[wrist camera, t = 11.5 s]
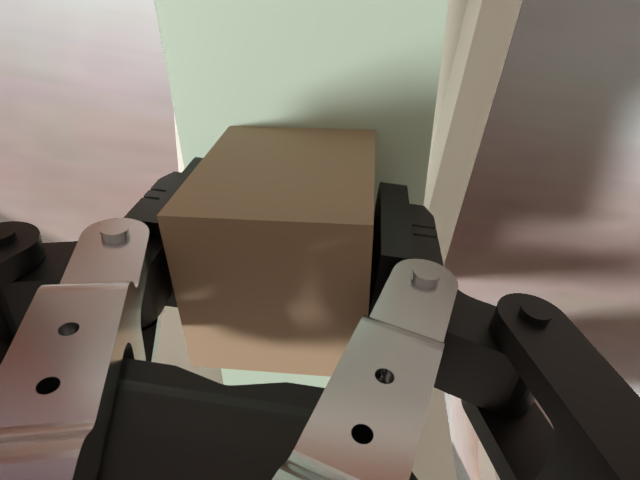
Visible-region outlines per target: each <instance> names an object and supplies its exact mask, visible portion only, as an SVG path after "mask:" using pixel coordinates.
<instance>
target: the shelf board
mask: <svg viewBox="0 0 640 480" xmlns="http://www.w3.org/2000/svg"><path fill="white" fill-rule="evenodd" d="M448 1H449V0H154V3H155V9H156V14H157V20H158V25H159V31H160V36H161V42H162V47H163V53H164V59H165V64H166V70H167V75H168V81H169V86H170V92H171V97H172V103H173V108H174V114H175V119H176V125H177V130H178V136H179V141H180V147H181V152H182V158H183V163H184V169H185V168H186V167H187V166H188V164H189V163H190V162H191V161H192V160H193V159H194V158H195V157H200V158H203V159H202V160H201V161H200V163H199V164H198V165H197V166H196V168H195V169H194V170H193V171H192V173H191V174H190V175H189V176H188V178H187V179H186V180H185V181H184V182H183V184H182V185H181V186H180V187H179V189H178V190H177V191H176V192H175V194H174V195H173V196H172V197H171V199H170V200H169V201H168V202H167V203H166V205H165V206H164V207H163V208H162V210H161V211H160V212H159V213H158V215H157V219H158V224H159V228H160V232H161V237H162V241H163V245H164V250H165V254H166V259H167V263H168V267H169V272H170V276H171V280H172V285H173V289H174V293H175V298H176V302H177V306H178V311H179V315H180V320H181V324H182V328H183V333H184V337H185V341H186V346H187V350H188V354H189V359H190V363H191V366H196V367H209V368H221V373H222V378H223V384H224V385H249V384H265V383H281V382H288V383H295V384H302V385H308V386H315V387H321V388H326V386H327V384H328V382H329V380H330V378H331V376H332V374H333V372H334V370H335V368H336V366H337V364H338V362H339V360H340V358H341V356H342V354H343V353H344V351H345V349H346V347H347V345H348V343H349V341H350V339H351V337H352V335H353V333H354V331H355V329H356V327H357V325H358V323H359V321H360V320H361V318H362V317H363V316H364V315H366V316H368V313H369V296H370V279H371V262H372V245H373V228H374V210H375V204H376V199H377V193H378V188H379V184H380V182H385V183H393V184H400V185H407V187H408V196H409V204H416V205H423V206H424V197H425V189H426V181H427V173H428V165H429V156H430V148H431V140H432V132H433V124H434V116H435V107H436V99H437V91H438V83H439V75H440V67H441V58H442V50H443V42H444V34H445V26H446V17H447V9H448Z"/></svg>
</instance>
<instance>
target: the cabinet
mask: <svg viewBox="0 0 640 480" xmlns="http://www.w3.org/2000/svg"><path fill="white" fill-rule="evenodd" d="M522 3H523V0H449V1H448V9H447V17H446V26H445V34H444V42H443V50H442V58H441V67H440V75H439V83H438V91H437V99H436V107H435V116H434V124H433V132H432V140H431V148H430V156H429V165H428V173H427V181H426V189H425V197H424V206H425V207H426V208H427V209H428V211H429V212H430V213H431V214H432V215H433V216H434V220H435V225H436V230H437V235H438V240H439V245H440V250H441V255H442V260H443V265H444V263H445V260H446V257H447V253H448V250H449V247H450V243H451V240H452V237H453V233H454V230H455V227H456V223H457V220H458V217H459V213H460V210H461V207H462V203H463V200H464V197H465V193H466V190H467V187H468V183H469V180H470V176H471V173H472V170H473V166H474V163H475V160H476V156H477V153H478V150H479V146H480V143H481V140H482V136H483V133H484V130H485V126H486V123H487V120H488V116H489V113H490V110H491V106H492V103H493V100H494V96H495V93H496V90H497V86H498V83H499V80H500V76H501V73H502V70H503V66H504V63H505V60H506V56H507V53H508V50H509V46H510V43H511V40H512V36H513V33H514V30H515V26H516V23H517V20H518V16H519V13H520V10H521V6H522ZM174 118H175V114H174ZM175 131H176V144H177V157H178V170H179V172H181V173H182V172H183V170H184V163H183V158H182V152H181V147H180V141H179V136H178V130H177V125H176V119H175ZM160 320H161V329H160V336H159V343H158V351H157V358H156V363H162V364H169V365H175V366H178V367H180V368H183V369H185V370H188V371H190V372H193V373H195V374H198V375H200V376H203V377H205V378H208V379H210V380H213V381H215V382H218V383H220V384H223V378H222V373H221V368H209V367H196V366H191V363H190V359H189V354H188V350H187V346H186V341H185V337H184V333H183V328H182V324H181V320H180V315H179V311H178V308H177V307H170V306H166V307H165V309H164V311H163V313H162V314H161V316H160ZM412 472H413V473H414V475H415V476H416V477H417V479H418V480H457V478H456V471H455V464H454V457H453V450H452V444H451V437H450V430H449V423H448V416H447V409H446V402H445V395H444V392H443V391H441V390H439V389H436V388H434V387H433V391H432V395H431V399H430V403H429V406H428V410H427V414H426V418H425V422H424V426H423V429H422V433H421V437H420V441H419V445H418V448H417V452H416V456H415V460H414V464H413V467H412Z"/></svg>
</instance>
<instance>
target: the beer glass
mask: <svg viewBox="0 0 640 480" xmlns="http://www.w3.org/2000/svg"><path fill="white" fill-rule="evenodd" d="M449 397H450V405H449V430H450V437H451V444H452V450H453V457H454V464H455V471H456V478H457V480H500V478H499V476H498V474H497V472H496V470H495V469H494V467H493V465H492V463H491V461H490V459H489V457H488V455H487V453H486V451H485V449H484V447H483V446H482V444H481V442H480V440H479V438H478V436H477V434H476V432H475V430H474V428H473V426H472V424H471V422H470V421H469V419H468V417H467V415H466V413H465V411H464V409H463V406H462V403H461V399H460V398H457V397H455V396H453V395H450V394H449ZM535 402H536V404H537V405H538V407H539V408H540V410H541V411H542V413H543V414H544V416H545V417H546V419H547V420H548V422H549V423H550V425H551V426H552V423H551V421H550V420H549V418H548V416H547V415H546V413H545V412H544V411H543V409H542V408H541V406H540V405H539V403H538V402H537V400H536V399H535ZM552 428H553V426H552ZM553 429H554V428H553Z"/></svg>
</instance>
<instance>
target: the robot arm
mask: <svg viewBox="0 0 640 480" xmlns="http://www.w3.org/2000/svg"><path fill="white" fill-rule="evenodd" d="M202 159H203V158H200V157H195V158H194V159H193V160H192V161H191V162H190V163H189V164H188V166H187V167H186V168H185V169H184V170H183V172H182V173H181V172H173V173H170V174H168V175H166V176H164V177H162V178H160V179H159V180H158V181H157V182H156V183H155V184H154V185H153V186H152V187H151V190H149V191H148V192H147V193H146V194H145V195H144V198H141V199H140V200H139V202H138V203H137V204H136V205H135V206H134V207H133V208H132V209H131V210H130V211H129V212H128V213H127V215H126V216H125V217H124V218H112V219H107V220H103V221H99V222H97V223H94V224H92V225H90V226H89V227H87V228H86V229H85V230H84V231H83V232H82V234H81V235H80V238H79V240H78V241H74V242H56V243H42V239H41V235H40V232H39V230H38V228H37V227H36V226H34V225H32V224H29V223H25V222H17V221H11V222H1V223H0V480H418V479H417V477H416V476H415V475H414V473H413V472H412V467H413V464H414V460H415V456H416V452H417V448H418V445H419V441H420V437H421V433H422V429H423V426H424V422H425V418H426V414H427V410H428V406H429V403H430V399H431V395H432V391H433V387H434V388H436V389H439V390H441V391H443V392H446V393H448V394H450V395H453V396H455V397H457V398H460V399H461V403H462V406H463V409H464V411H465V413H466V415H467V417H468V419H469V421H470V422H471V424H472V426H473V428H474V430H475V432H476V434H477V436H478V438H479V440H480V442H481V444H482V446H483V447H484V449H485V451H486V453H487V455H488V457H489V459H490V461H491V463H492V465H493V467H494V469H495V470H496V472H497V474H498V476H499V478H500V480H640V397H639V396H638V395H637V394H636V393H635V392H634V391H633V389H632V388H631V387H630V386H629V385H628V384H627V383H626V382H625V381H624V379H623V378H622V377H621V376H620V375H619V374H618V373H617V372H616V371H615V369H614V368H613V367H612V366H611V365H610V364H609V363H608V362H607V361H606V360H605V358H604V357H603V356H602V355H601V354H600V353H599V352H598V351H597V350H596V348H595V347H594V346H593V345H592V344H591V343H590V342H589V341H588V340H587V338H586V337H585V336H584V335H583V334H582V333H581V332H580V331H579V330H578V329H577V327H576V326H575V325H574V324H573V323H572V322H571V321H570V320H569V319H568V317H567V316H566V315H565V314H564V313H563V312H562V311H561V310H560V309H558V308H557V307H556V306H554V305H553V304H551V303H550V302H548V301H546V300H544V299H541V298H539V297H536V296H533V295H528V294H522V293H513V294H508V295H505V296H503V297H502V298H501V299H500V300H499V302H498V304H497V306H493V305H491V304H488V303H485V302H482V301H479V300H477V299H474V298H472V297H469V296H467V295H466V294H464V293H462V292H461V291H459V290H458V281H457V279H456V277H455V276H454V275H453V273H452V272H451V271H449V270H448V269H447V268H445V267H444V265H443V260H442V255H441V250H440V245H439V240H438V235H437V230H436V225H435V220H434V216H433V215H432V214H431V213H430V212H429V211H428V209H427V208H426V207H425V206H423V205H416V204H409V196H408V187H407V185H400V184H393V183H385V182H380V184H379V188H378V193H377V199H376V204H375V210H374V228H373V245H372V262H371V279H370V296H369V313H368V316H366V315H364V316H363V317H362V318H361V320H360V321H359V323H358V325H357V327H356V329H355V331H354V333H353V335H352V337H351V339H350V341H349V343H348V345H347V347H346V349H345V351H344V353H343V354H342V356H341V358H340V360H339V362H338V364H337V366H336V368H335V370H334V372H333V374H332V376H331V378H330V380H329V382H328V384H327V386H326V388H321V387H315V386H308V385H302V384H295V383H288V382H281V383H265V384H249V385H224V384H220V383H218V382H215V381H213V380H210V379H208V378H205V377H203V376H200V375H198V374H195V373H193V372H190V371H188V370H185V369H183V368H180V367H178V366H175V365H169V364H162V363H156V358H157V351H158V343H159V336H160V329H161V320H160V313H161V311H162V310H163V308H164V306H170V307H177V308H178V306H177V302H176V298H175V293H174V289H173V285H172V280H171V276H170V272H169V267H168V263H167V259H166V254H165V250H164V245H163V241H162V237H161V232H160V228H159V224H158V219H157V215H158V213H159V212H160V211H161V210H162V208H163V207H164V206H165V205H166V203H167V202H168V201H169V200H170V199H171V197H172V196H173V195H174V194H175V192H176V191H177V190H178V189H179V187H180V186H181V185H182V184H183V182H184V181H185V180H186V179H187V178H188V176H189V175H190V174H191V173H192V171H193V170H194V169H195V168H196V166H197V165H198V164H199V163H200V161H201V160H202ZM535 399H536V400H537V402H538V403H539V405H540V406H541V408H542V409H543V411H544V412H545V413H546V415H547V416H548V418H549V420H550V421H551V423H552V426H553V428H554V429H553V428H552V426H551V425H550V423H549V422H548V420H547V419H546V417H545V416H544V414H543V413H542V411H541V410H540V408H539V407H538V405H537V404H536V402H535Z"/></svg>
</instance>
